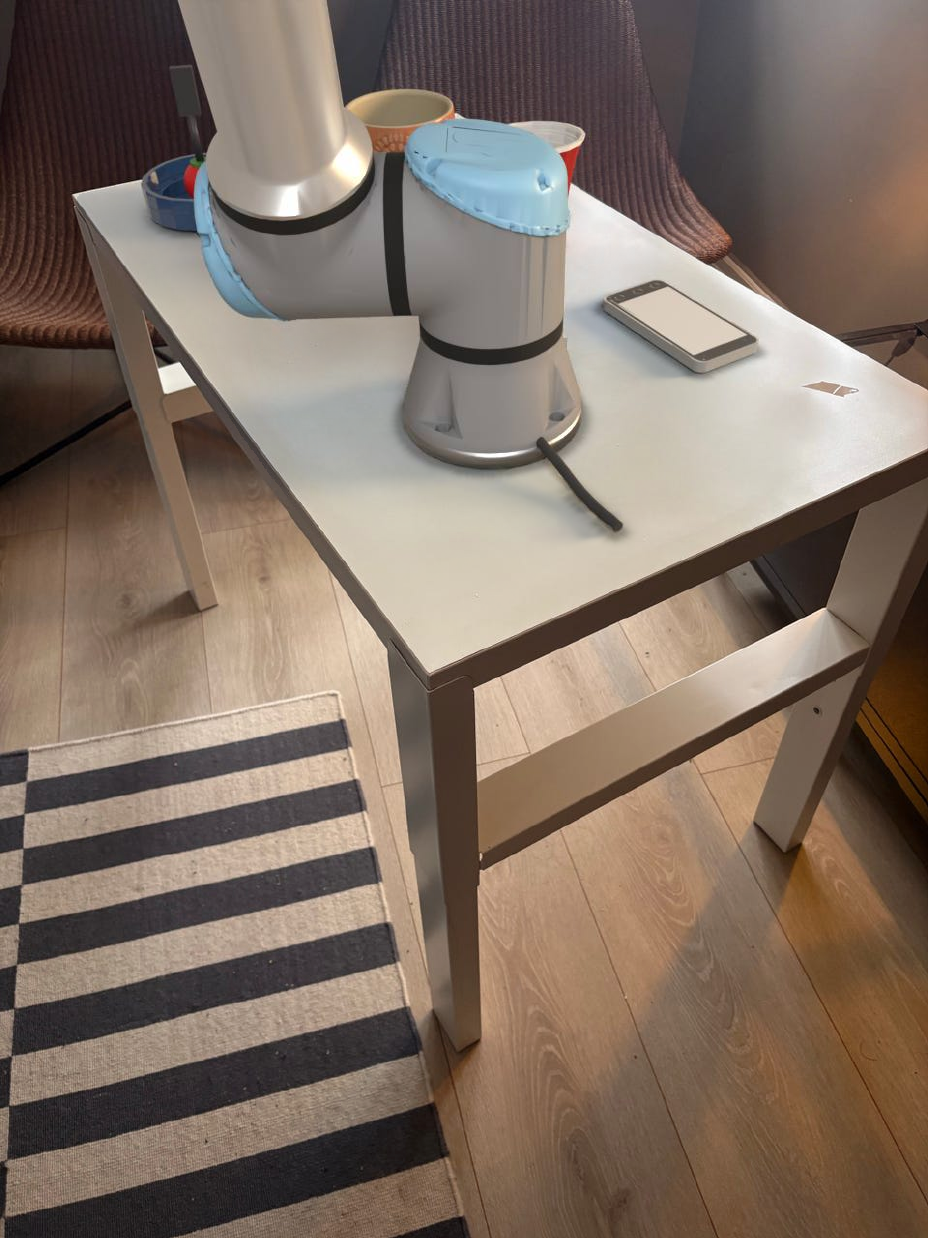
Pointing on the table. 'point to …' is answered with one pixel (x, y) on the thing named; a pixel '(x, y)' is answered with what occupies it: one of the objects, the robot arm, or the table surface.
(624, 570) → the table surface
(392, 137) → the planter
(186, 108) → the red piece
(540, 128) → the plastic cup
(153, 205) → the dish
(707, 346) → the smartphone
